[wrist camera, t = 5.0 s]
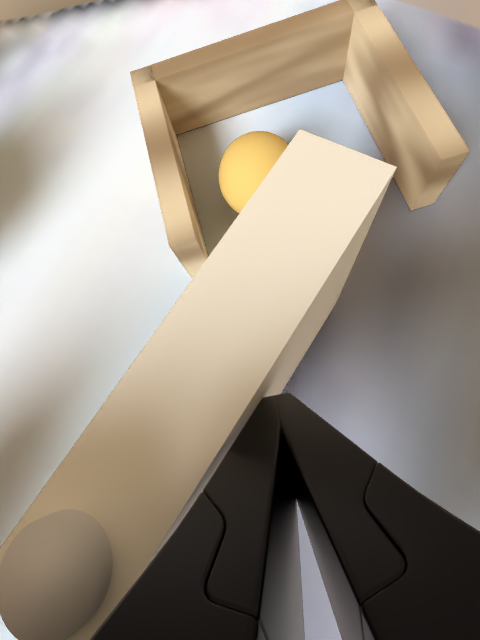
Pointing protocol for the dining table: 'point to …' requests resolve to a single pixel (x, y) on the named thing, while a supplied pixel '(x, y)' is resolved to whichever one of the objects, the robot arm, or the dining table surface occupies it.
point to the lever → (191, 391)
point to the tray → (287, 81)
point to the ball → (248, 165)
